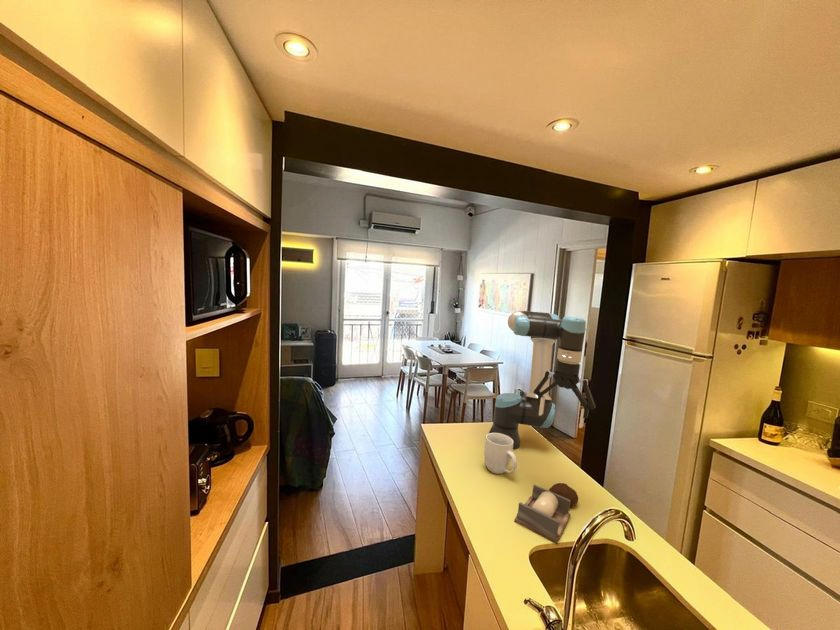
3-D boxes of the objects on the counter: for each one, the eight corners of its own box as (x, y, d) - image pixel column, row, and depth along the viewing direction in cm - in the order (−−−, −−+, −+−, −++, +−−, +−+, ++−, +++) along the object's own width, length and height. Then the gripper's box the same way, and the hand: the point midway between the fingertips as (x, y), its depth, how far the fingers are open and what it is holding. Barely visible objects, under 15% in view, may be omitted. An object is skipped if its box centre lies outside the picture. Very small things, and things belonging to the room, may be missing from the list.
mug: (523, 478, 131) (527, 446, 130) (503, 485, 125) (508, 452, 124) (495, 459, 144) (499, 430, 142) (476, 465, 137) (480, 435, 136)
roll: (539, 506, 114) (540, 488, 114) (558, 512, 110) (558, 495, 110) (529, 521, 106) (529, 502, 106) (548, 529, 102) (549, 510, 102)
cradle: (531, 498, 119) (533, 482, 118) (570, 516, 111) (572, 499, 110) (514, 521, 106) (516, 503, 105) (556, 543, 98) (559, 524, 98)
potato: (581, 511, 114) (584, 492, 114) (551, 508, 114) (554, 489, 114) (572, 498, 121) (575, 480, 121) (544, 495, 121) (546, 477, 121)
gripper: (529, 355, 121) (522, 412, 123) (607, 371, 106) (597, 435, 108) (536, 353, 127) (529, 407, 129) (610, 368, 112) (601, 429, 114)
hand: (560, 420), depth 118 cm, fingers open, 13 cm apart
